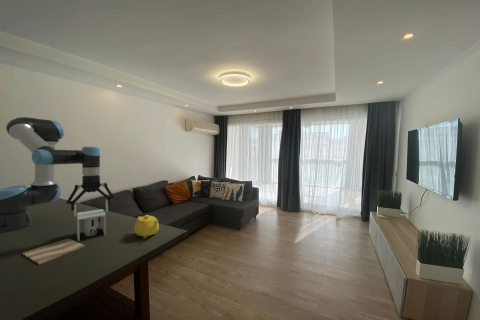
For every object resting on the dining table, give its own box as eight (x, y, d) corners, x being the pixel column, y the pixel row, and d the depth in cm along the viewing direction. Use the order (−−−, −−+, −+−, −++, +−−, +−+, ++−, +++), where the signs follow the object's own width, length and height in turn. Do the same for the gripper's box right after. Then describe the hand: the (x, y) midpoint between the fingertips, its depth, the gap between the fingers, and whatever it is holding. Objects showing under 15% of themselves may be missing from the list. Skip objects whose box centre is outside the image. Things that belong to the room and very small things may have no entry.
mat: (22, 254, 82) (22, 253, 82) (68, 239, 97) (68, 238, 97) (39, 264, 75) (39, 263, 75) (85, 246, 90) (85, 245, 90)
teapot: (166, 234, 105) (166, 216, 105) (148, 242, 96) (148, 222, 95) (146, 227, 114) (146, 210, 114) (128, 234, 104) (128, 215, 104)
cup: (90, 238, 99) (90, 219, 98) (77, 236, 100) (77, 218, 100) (104, 231, 107) (104, 214, 106) (92, 230, 108) (92, 213, 108)
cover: (77, 233, 104) (77, 212, 104) (103, 228, 112) (103, 209, 111) (77, 241, 95) (77, 218, 95) (105, 235, 103) (105, 214, 102)
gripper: (59, 177, 91) (60, 220, 92) (119, 174, 108) (119, 210, 108) (59, 175, 97) (60, 216, 97) (117, 173, 113) (117, 207, 114)
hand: (91, 213), depth 103 cm, fingers open, 13 cm apart
